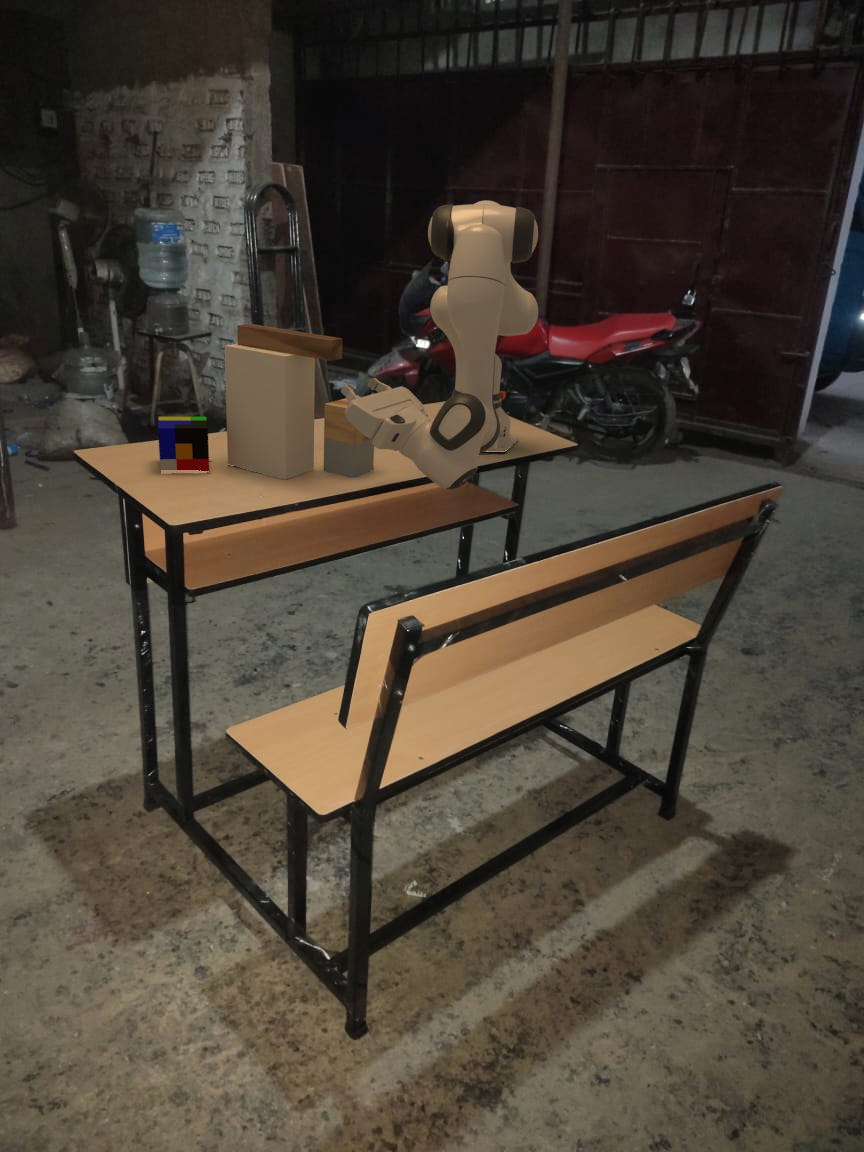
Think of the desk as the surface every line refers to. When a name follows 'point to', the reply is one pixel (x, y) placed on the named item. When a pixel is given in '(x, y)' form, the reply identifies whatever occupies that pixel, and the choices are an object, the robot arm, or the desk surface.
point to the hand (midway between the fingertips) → (357, 384)
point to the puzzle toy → (183, 443)
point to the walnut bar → (290, 342)
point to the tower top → (340, 424)
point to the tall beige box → (270, 411)
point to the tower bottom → (348, 457)
